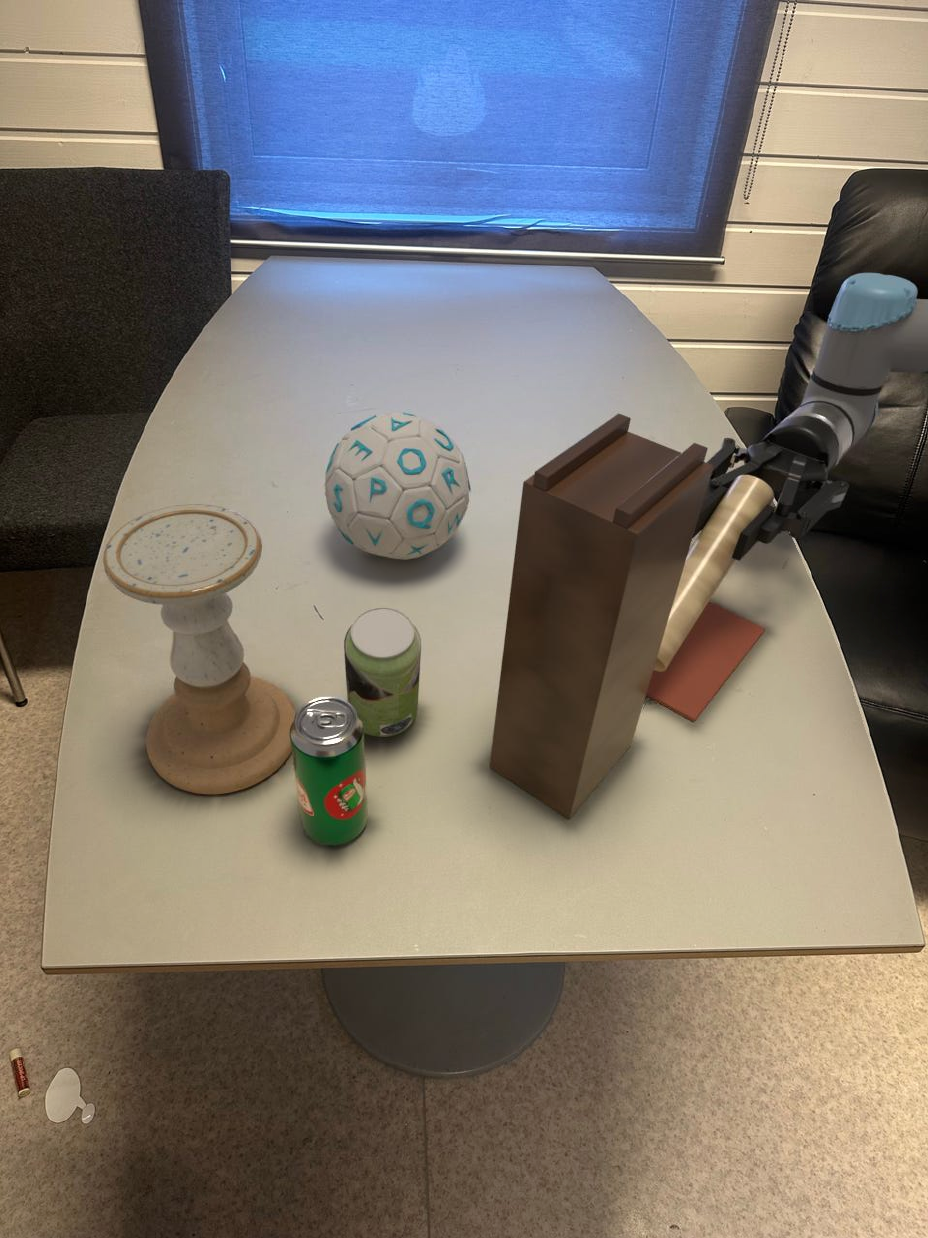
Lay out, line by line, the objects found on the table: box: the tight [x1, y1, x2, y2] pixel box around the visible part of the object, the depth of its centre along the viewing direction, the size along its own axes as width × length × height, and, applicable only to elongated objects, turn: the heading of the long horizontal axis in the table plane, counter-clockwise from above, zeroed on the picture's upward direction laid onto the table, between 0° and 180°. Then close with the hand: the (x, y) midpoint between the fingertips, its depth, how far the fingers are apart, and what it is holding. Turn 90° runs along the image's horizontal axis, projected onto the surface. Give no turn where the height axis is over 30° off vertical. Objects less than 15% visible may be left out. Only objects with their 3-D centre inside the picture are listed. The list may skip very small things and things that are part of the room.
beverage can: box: [343, 606, 422, 738], centre depth 68 cm, size 6×7×12 cm
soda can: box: [290, 696, 369, 846], centre depth 60 cm, size 5×5×12 cm
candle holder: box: [102, 503, 297, 795], centre depth 63 cm, size 12×12×20 cm
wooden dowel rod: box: [654, 475, 775, 672], centre depth 75 cm, size 20×4×4 cm, turn 142°
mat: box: [646, 601, 766, 723], centre depth 81 cm, size 12×16×1 cm
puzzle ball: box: [324, 412, 472, 561], centre depth 86 cm, size 15×15×15 cm
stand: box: [489, 413, 713, 820], centre depth 60 cm, size 8×10×29 cm
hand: (715, 536), depth 74 cm, fingers closed on wooden dowel rod, 4 cm apart
